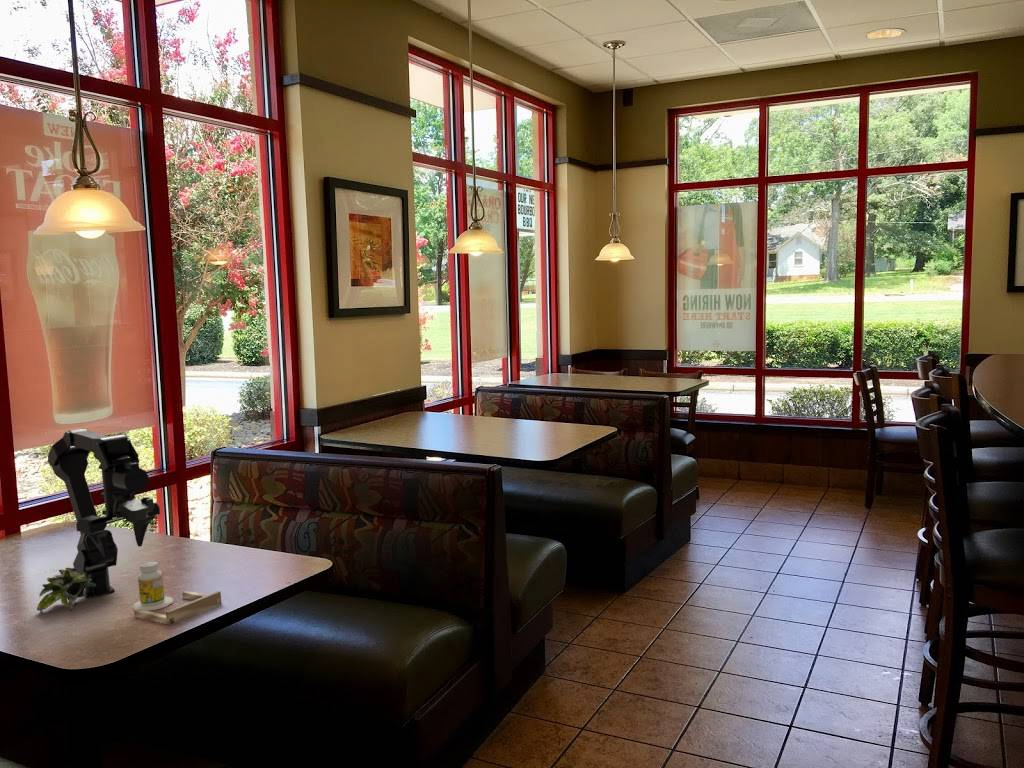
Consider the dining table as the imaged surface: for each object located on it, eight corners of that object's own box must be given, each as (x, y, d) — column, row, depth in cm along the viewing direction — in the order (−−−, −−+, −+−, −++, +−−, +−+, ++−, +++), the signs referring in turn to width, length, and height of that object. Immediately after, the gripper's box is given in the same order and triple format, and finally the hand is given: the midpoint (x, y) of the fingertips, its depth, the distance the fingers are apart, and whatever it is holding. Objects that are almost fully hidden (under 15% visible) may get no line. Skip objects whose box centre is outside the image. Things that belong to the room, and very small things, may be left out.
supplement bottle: (169, 600, 199) (166, 562, 198) (150, 608, 195) (146, 568, 194) (155, 597, 202) (151, 559, 201) (135, 605, 198) (132, 566, 197)
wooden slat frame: (134, 616, 191) (133, 604, 190) (186, 596, 203) (185, 584, 203) (169, 625, 184) (168, 612, 184) (221, 603, 197) (220, 591, 197)
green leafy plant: (73, 623, 204) (98, 577, 208) (79, 627, 195) (105, 579, 200) (27, 606, 199) (54, 559, 203) (31, 610, 190) (59, 561, 195)
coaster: (128, 605, 199) (127, 603, 199) (166, 595, 205) (166, 593, 205) (139, 614, 192) (139, 612, 192) (178, 604, 198) (178, 602, 198)
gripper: (101, 499, 185) (108, 567, 187) (172, 482, 201) (177, 544, 203) (71, 496, 191) (78, 561, 192) (142, 479, 207) (148, 539, 208)
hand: (122, 551), depth 199 cm, fingers open, 9 cm apart
